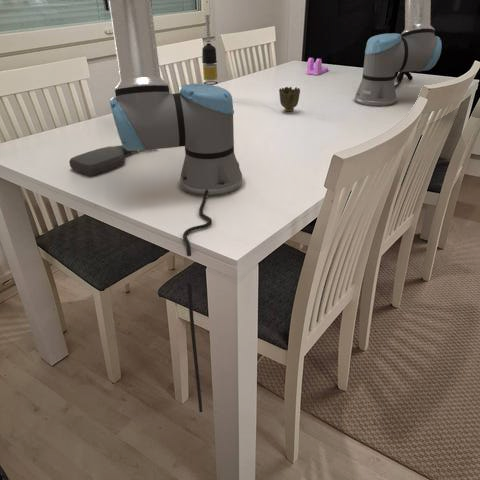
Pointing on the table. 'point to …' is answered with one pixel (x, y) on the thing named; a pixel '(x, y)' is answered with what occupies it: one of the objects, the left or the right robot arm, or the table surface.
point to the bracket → (317, 69)
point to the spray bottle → (99, 160)
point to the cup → (289, 98)
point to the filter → (209, 58)
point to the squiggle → (401, 74)
